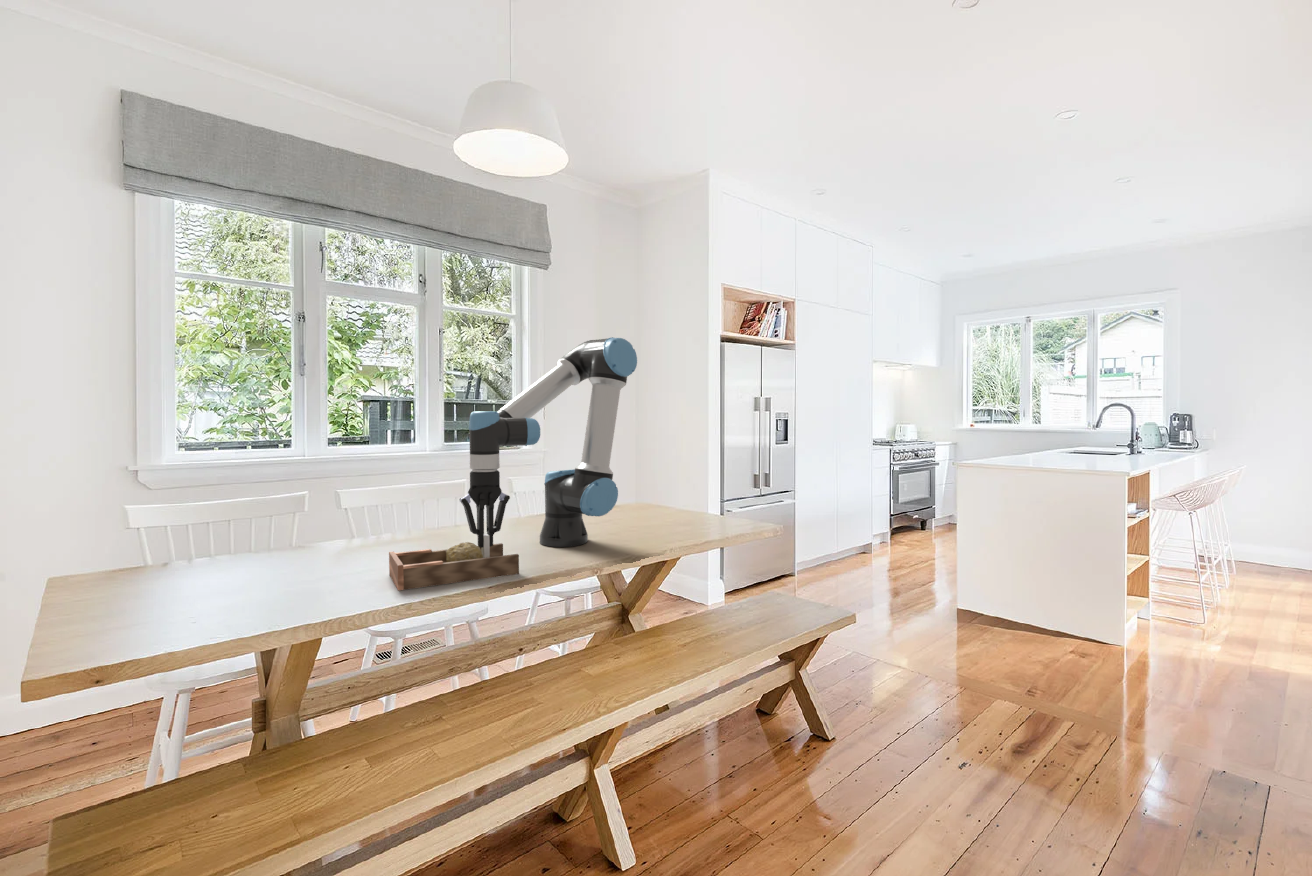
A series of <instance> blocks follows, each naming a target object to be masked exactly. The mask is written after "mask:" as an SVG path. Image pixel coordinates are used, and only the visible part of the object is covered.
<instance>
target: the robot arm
mask: <svg viewBox="0 0 1312 876" xmlns="http://www.w3.org/2000/svg"><path fill="white" fill-rule="evenodd" d="M637 365H638V356H637V352H636V349H635V348H634V345H632V343H631V342H630V341H628V340H627V339H626V338H624V337H623V338H622V337H612V336H611V337H608V338H600V339H590V340H586V341H584V342H582V343H581V344H578V345H577V346H576V347H574V348H572V349H571V350H569V352H567V353H565V355H563V356H562V357H561V358H559V359H558V360H557V361H556V366H554V367H553V368H552V369H551V370H549V371H547V372H546V373H545V374H544V375H543V376H541V377H540V378H539V379H537V380H536V381H535V382H534V383H532V384H531V385H529V386H527V388H526V389H524V390H523V391H522V392H521V393H519V394H518V395H516V396H515V397H513V399H511V400H510V401H509V402H508V403H506V404H505V405H504V406H502V407H501V408H499V409H498V410H497V411H494V410H493V411H492V410H491V411H488V410H487V411H486V410H485V411H482V410H481V411H479V410H478V411H475V410H474V411H472V412H471V413H470V415H469V421H468V422H469V423H468V424H469V425H468V430H469V431H468V432H469V469H470V470H471V471H470V472H469V489H468V492H467V494H466V495H464V496H463V497H460V498H459V503H461V504H462V506H463V509H464V514H465V516H466V520H467V523H468V529H469V531H470V532H471V533H472V534H474V535H476V536H477V546H478V547H480V548H481V551H482V554H483V558H487V557H490V546H493V544H494V535H495V533H498V532H500V531H501V529H502V523H503V519H504V514H505V511H506V508H507V507H506V506H507V503H509V500H510V499H511V497H510V495H508V494H506V493H504V492H503V490H502V489H501V487H500V485H501V484H500V483H501V482H500V478H501V477H500V471H499V470H498V469H500V468H501V466H500V464H501V463H500V448H501V447H517V446H518V447H520V446H521V447H522V446H525V447H527V446H534V445H536V444H537V443H539V440H540V438H541V427H540V426H541V425H540V423H539V422H538V420H537V419H535V418H533V416H535V415H536V414H537V413H539V412H540V411H541V410H542V409H544V408H545V407H546V406H547V405H549V404H550V403H551V402H553V400H555V399H556V398H558V397H559V396H560V395H562V393H564V392H565V391H566V390H568V389H569V388H570V387H571V386H577V385H579V384H580V383H581V382H582V381H584V380H588V381H589V382H590V384H591V386H592V387H591V393H590V401H589V407H588V415H587V420H586V421H587V422H586V426H585V433H584V434H585V435H584V440H583V441H584V442H583V448H582V453H581V460H580V463H579V464H578V465H577V466H576V467H575V468H574V469H563V470H553V471H551V470H550V471H547V472H546V474H545V476H544V515H545V516H544V521H543V524H542V528H541V530H540V533H539V544H540V545H542V546H547V547H553V548H554V547H557V548H563V547H565V548H566V547H577V546H581V545H584V544H587V543H588V539H589V537H588V536H589V535H588V531H587V529H586V526H585V523H584V519H583V515H586V516H588V517H603V516H606V515H607V514H608V513H610V511H612V510H613V508H614V507H615V506H616V503H617V502H618V499H619V489H618V487H617V484H616V482H615V481H614V479H613V477H614V472H613V471H612V469H611V468H610V464H611V458H612V449H613V443H614V438H615V436H614V435H615V429H616V421H617V415H618V409H619V408H618V407H619V401H620V396H621V395H620V394H621V390H622V389H623V388H624V387H626V386H627V383H628V382H627V381H628V377H629V376H631V375H633V373H634V372H635V371H636V368H637ZM471 500H472V501H473V502H474V504H475V508H476V521H475V518H474V515H473V510H472V507H471ZM498 500H499V502H498V505H497V511H496V513H495V516H494V509H495V503H496V501H498ZM485 508H486V509H485ZM485 511H486V517H485V515H484V514H485ZM494 517H495V519H494ZM485 518H486V533H485Z"/></svg>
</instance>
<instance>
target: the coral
mask: <svg viewBox="0 0 1312 876" xmlns="http://www.w3.org/2000/svg"><path fill="white" fill-rule="evenodd" d="M447 549H448V550H447V551H446V554H447V555H446V561H447V562H454V561H462V560H471V559H479V558H483V554H482V551H481V549H480V547H478V545H477V544H475V543H473V542H469V541H467V542H466V541H465V542H460V543H459V544H456V545H454V546H451V547H449V548H447Z"/></svg>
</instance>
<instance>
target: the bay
mask: <svg viewBox="0 0 1312 876" xmlns="http://www.w3.org/2000/svg"><path fill="white" fill-rule="evenodd" d="M448 549H449V548H447V549H439V550H438V549H437V550H432V549H431V548H427V549H420V550H419V549H418V550H409V551H401V552H395V551H389V552H388V564H389V565H388V568H389V577H390V579H391V581H392V582H393V584H394V586H395V587H396V589H397V591H399V592H400V591H406V590H412V589H414V590H415V589H419V588H427V587H434V586H441V585H447V584H448V585H450V584H456V583H462V582H470V581H478V580H483V579H484V580H485V579H491V578H499V577H505V576H507V577H508V576H513V575H519V574H520V554H518V553H514V554H505V555H504V544H503V542H501V543H493V546H490V557H487V558H479V559H471V560H462V561H454V562H447V561H446V555H447V554H446V551H447V550H448ZM480 549H481V548H480Z"/></svg>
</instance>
